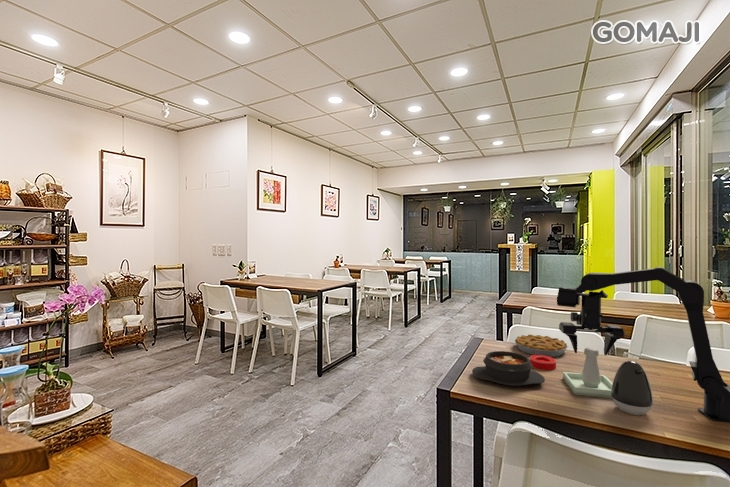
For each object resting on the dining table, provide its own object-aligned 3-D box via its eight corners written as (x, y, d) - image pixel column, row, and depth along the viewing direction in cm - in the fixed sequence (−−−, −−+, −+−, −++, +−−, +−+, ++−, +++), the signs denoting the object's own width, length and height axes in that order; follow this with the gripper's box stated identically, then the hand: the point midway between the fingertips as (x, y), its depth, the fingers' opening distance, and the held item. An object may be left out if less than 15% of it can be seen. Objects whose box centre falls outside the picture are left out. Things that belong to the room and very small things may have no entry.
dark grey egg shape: (621, 418, 104) (622, 366, 104) (604, 401, 114) (605, 354, 114) (661, 421, 102) (662, 368, 102) (640, 404, 112) (641, 356, 112)
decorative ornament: (549, 362, 150) (550, 355, 150) (560, 371, 140) (560, 363, 140) (526, 361, 151) (526, 354, 151) (534, 370, 141) (534, 362, 141)
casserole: (474, 387, 125) (474, 363, 125) (470, 368, 144) (470, 347, 143) (551, 393, 120) (551, 369, 120) (537, 372, 138) (537, 351, 138)
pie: (528, 340, 181) (528, 330, 181) (575, 350, 164) (575, 340, 164) (506, 349, 167) (506, 338, 167) (555, 362, 150) (555, 350, 150)
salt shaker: (603, 389, 121) (604, 351, 120) (584, 388, 122) (585, 350, 122) (596, 382, 127) (597, 346, 126) (578, 381, 128) (579, 345, 127)
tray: (621, 398, 116) (621, 391, 116) (575, 394, 119) (575, 387, 119) (604, 381, 129) (604, 375, 129) (562, 378, 133) (562, 372, 133)
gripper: (611, 305, 129) (610, 348, 130) (555, 303, 134) (554, 344, 134) (626, 312, 118) (625, 359, 119) (564, 309, 123) (563, 354, 123)
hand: (590, 353), depth 124 cm, fingers open, 9 cm apart
